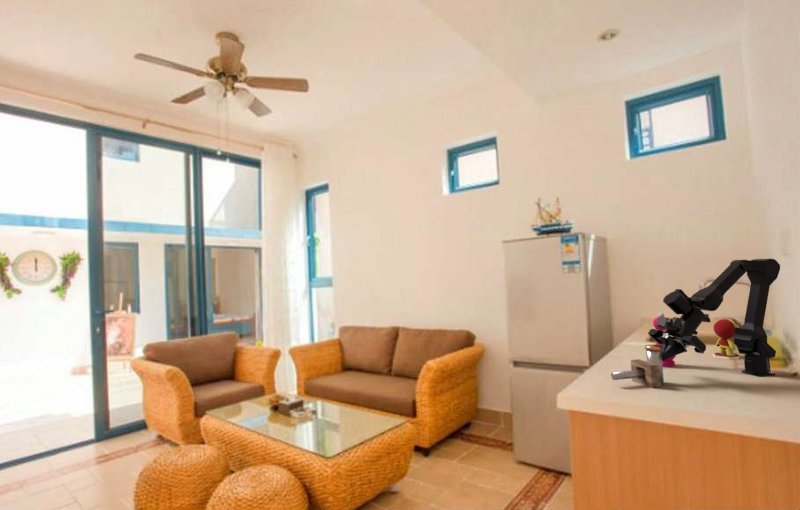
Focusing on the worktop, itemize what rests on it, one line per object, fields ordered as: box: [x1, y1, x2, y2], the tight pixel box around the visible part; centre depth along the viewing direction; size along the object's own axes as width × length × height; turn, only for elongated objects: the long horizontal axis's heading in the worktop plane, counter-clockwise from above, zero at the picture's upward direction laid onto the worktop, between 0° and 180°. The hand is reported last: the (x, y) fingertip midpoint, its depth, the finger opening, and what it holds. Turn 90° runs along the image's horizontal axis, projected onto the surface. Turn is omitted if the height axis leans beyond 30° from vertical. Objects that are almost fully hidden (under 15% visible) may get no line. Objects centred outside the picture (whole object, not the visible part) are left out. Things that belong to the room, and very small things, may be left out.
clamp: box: [610, 343, 665, 385], centre depth 137 cm, size 18×5×12 cm, turn 98°
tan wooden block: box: [630, 358, 661, 389], centre depth 137 cm, size 3×9×7 cm, turn 8°
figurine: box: [712, 318, 741, 360], centre depth 168 cm, size 9×10×15 cm
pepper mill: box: [652, 312, 677, 368], centre depth 159 cm, size 7×7×20 cm
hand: (661, 359), depth 138 cm, fingers closed, pressing on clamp
